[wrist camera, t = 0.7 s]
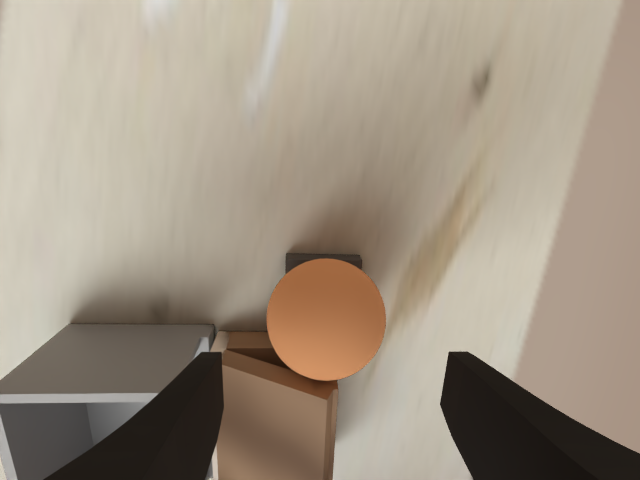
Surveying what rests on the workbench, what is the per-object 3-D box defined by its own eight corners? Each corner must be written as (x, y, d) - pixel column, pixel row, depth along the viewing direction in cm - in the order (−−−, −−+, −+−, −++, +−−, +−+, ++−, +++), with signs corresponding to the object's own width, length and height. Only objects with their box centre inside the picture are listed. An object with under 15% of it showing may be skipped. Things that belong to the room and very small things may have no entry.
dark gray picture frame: (354, 320, 18) (357, 328, 18) (285, 319, 18) (285, 327, 17) (359, 254, 17) (362, 260, 17) (286, 253, 17) (285, 259, 16)
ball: (368, 337, 18) (393, 408, 13) (271, 336, 18) (261, 410, 13) (376, 244, 17) (407, 288, 12) (271, 242, 16) (260, 286, 12)
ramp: (322, 451, 21) (330, 545, 16) (223, 453, 20) (201, 550, 16) (329, 331, 19) (339, 400, 14) (218, 331, 18) (189, 401, 13)
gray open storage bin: (220, 458, 21) (197, 557, 16) (94, 461, 20) (30, 563, 15) (213, 324, 18) (183, 392, 13) (69, 323, 18) (-17, 394, 13)
